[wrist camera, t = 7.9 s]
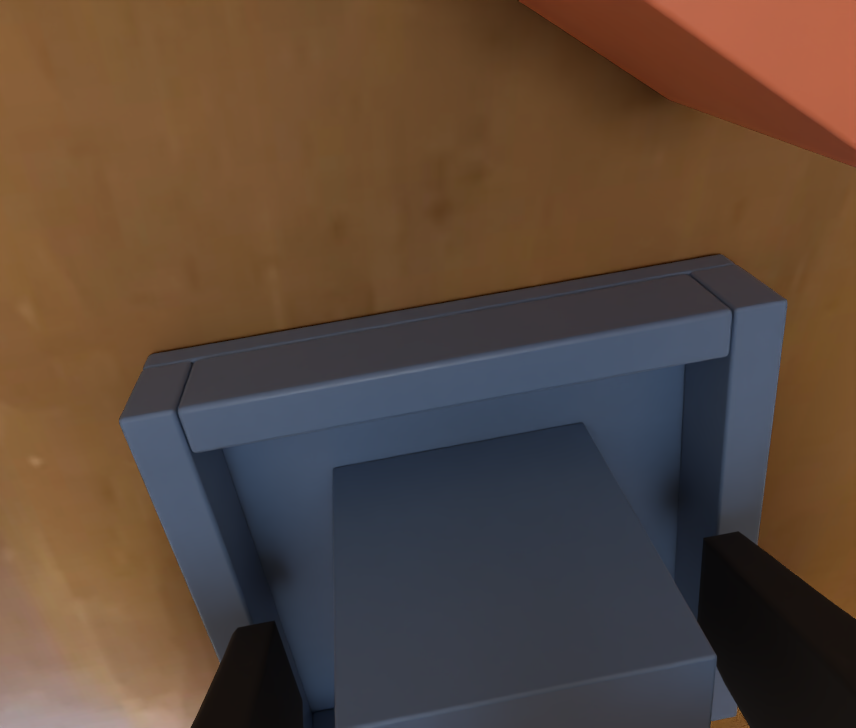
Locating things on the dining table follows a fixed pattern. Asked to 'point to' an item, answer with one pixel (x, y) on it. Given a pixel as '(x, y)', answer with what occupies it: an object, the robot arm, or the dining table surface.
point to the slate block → (507, 595)
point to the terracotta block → (735, 60)
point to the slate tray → (456, 429)
